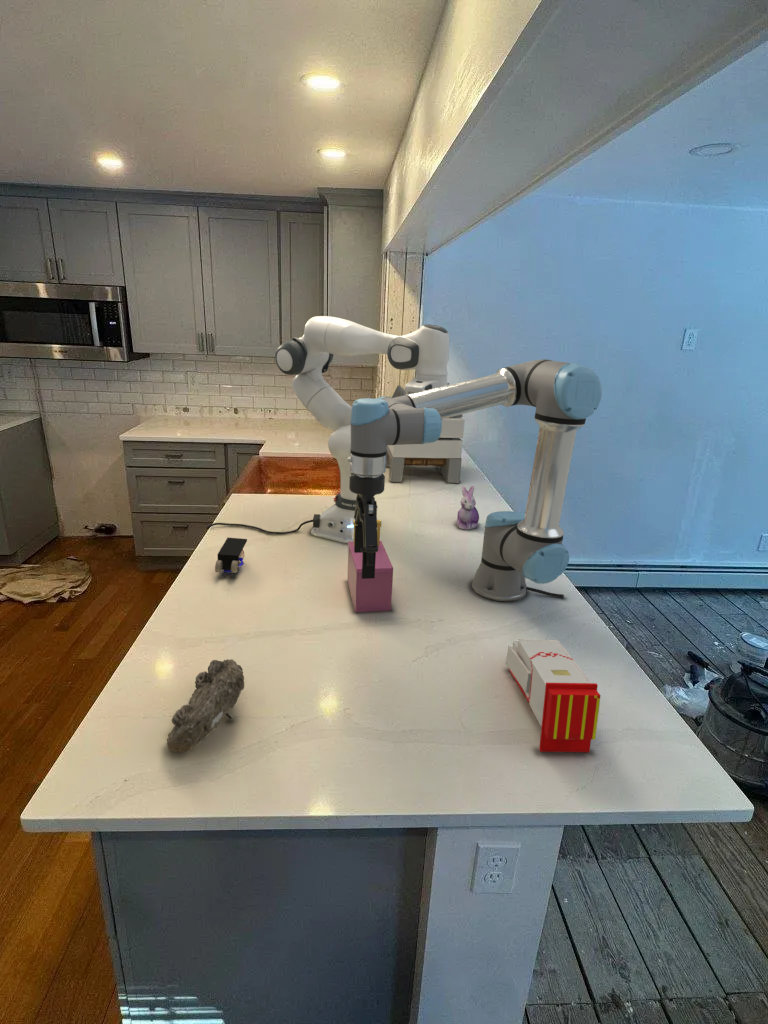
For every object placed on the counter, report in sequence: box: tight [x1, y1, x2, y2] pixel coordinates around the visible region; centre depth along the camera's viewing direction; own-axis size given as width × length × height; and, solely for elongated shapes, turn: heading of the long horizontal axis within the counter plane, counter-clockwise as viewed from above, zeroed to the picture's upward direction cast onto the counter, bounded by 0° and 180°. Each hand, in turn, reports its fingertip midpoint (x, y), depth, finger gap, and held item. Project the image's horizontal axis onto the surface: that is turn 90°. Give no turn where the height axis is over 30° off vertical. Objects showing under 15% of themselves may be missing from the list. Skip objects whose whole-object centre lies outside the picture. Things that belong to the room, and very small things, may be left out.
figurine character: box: [214, 537, 248, 578], centre depth 166 cm, size 7×8×15 cm
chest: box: [347, 545, 394, 613], centre depth 154 cm, size 18×10×11 cm, turn 10°
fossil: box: [166, 658, 245, 754], centre depth 106 cm, size 22×10×15 cm
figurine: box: [456, 485, 480, 530], centre depth 208 cm, size 9×10×15 cm
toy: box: [505, 638, 602, 753], centre depth 114 cm, size 12×13×30 cm
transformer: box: [386, 384, 465, 484], centre depth 268 cm, size 34×33×41 cm
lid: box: [347, 519, 394, 573], centre depth 151 cm, size 18×10×9 cm, turn 10°
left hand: (427, 432), depth 167 cm, fingers open, 8 cm apart
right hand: (363, 564), depth 127 cm, fingers open, 13 cm apart
